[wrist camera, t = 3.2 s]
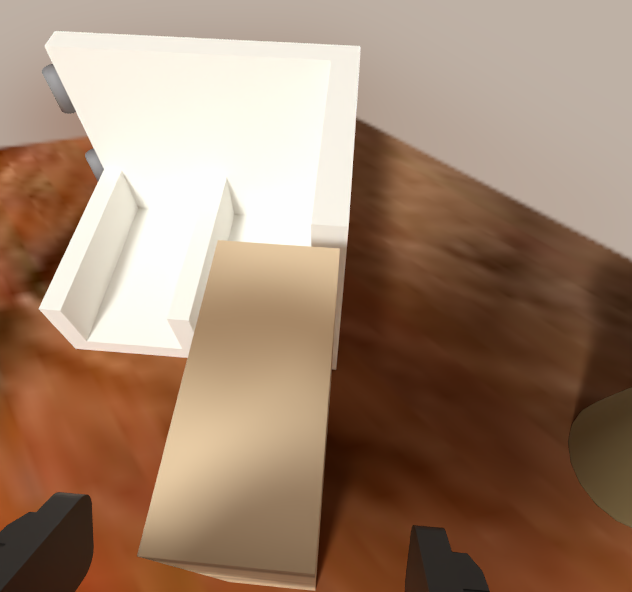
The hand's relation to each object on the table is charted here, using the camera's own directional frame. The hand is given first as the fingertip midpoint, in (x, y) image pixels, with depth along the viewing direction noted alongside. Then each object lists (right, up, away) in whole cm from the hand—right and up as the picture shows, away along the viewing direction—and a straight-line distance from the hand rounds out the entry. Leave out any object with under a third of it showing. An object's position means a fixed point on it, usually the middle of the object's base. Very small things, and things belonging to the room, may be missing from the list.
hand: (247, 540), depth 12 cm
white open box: (-4, +7, +16) cm, 18 cm away
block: (0, -2, +10) cm, 10 cm away
